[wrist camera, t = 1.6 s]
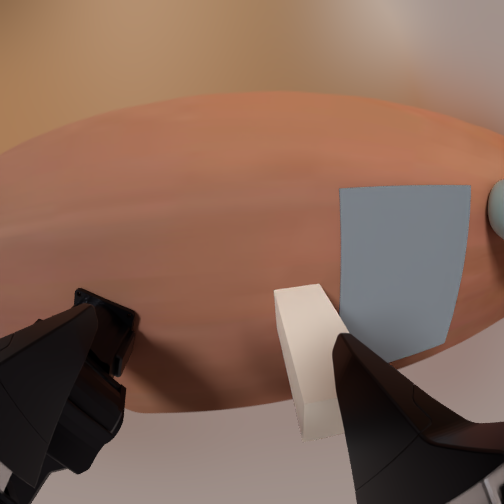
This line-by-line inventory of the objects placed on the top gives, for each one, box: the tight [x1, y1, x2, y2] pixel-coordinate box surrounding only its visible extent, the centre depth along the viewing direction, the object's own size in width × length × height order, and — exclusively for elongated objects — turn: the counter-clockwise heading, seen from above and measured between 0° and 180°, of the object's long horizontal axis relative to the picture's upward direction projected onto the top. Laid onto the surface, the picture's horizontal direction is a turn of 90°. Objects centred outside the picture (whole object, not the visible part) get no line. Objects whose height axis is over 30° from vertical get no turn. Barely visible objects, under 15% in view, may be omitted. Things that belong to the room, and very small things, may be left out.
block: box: [274, 284, 349, 442], centre depth 18 cm, size 4×4×12 cm
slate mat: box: [339, 185, 471, 363], centre depth 24 cm, size 16×20×1 cm
